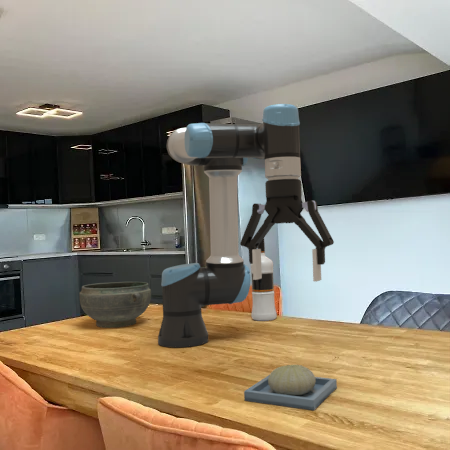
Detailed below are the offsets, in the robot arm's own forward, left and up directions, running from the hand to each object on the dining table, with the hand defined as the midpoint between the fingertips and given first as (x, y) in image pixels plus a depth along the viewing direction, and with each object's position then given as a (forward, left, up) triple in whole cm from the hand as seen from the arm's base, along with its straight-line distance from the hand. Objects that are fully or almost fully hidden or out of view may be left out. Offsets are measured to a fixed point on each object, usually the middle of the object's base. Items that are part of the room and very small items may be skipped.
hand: (286, 280), depth 107 cm
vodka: (-39, +70, -22) cm, 83 cm away
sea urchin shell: (+2, -5, -22) cm, 22 cm away
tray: (+2, -6, -22) cm, 23 cm away
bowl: (-88, +45, -22) cm, 101 cm away
